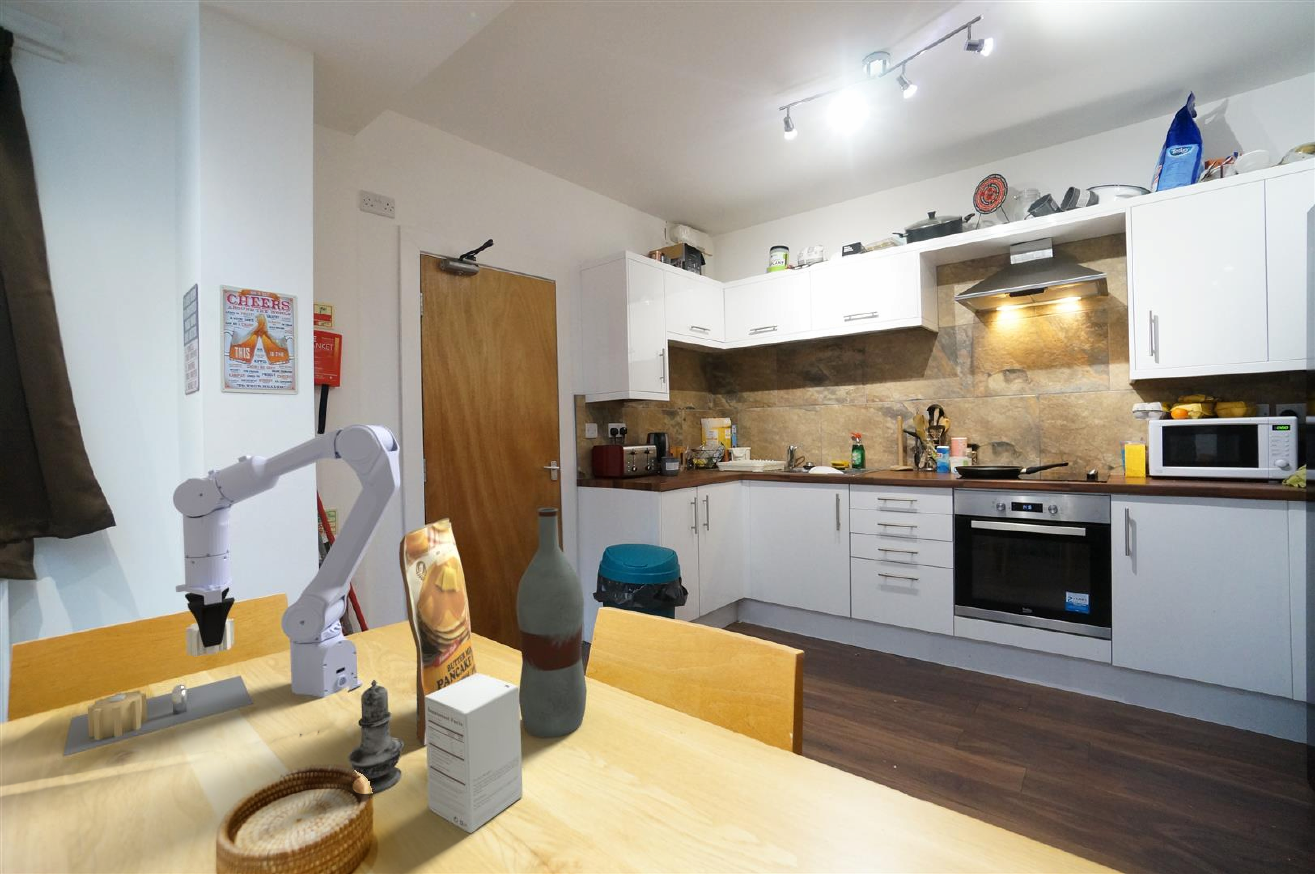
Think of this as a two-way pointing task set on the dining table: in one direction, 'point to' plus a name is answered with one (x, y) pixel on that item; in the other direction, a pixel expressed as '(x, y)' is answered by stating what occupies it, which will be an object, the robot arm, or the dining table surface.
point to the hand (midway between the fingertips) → (210, 640)
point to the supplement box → (473, 750)
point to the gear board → (150, 713)
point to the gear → (197, 647)
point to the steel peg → (179, 699)
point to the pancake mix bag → (436, 611)
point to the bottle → (551, 638)
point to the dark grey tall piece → (377, 742)
